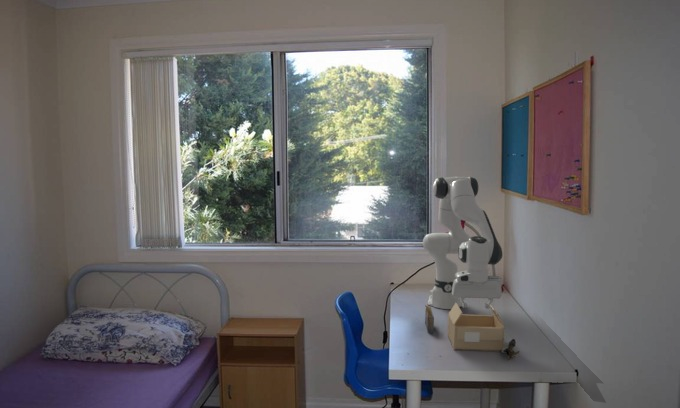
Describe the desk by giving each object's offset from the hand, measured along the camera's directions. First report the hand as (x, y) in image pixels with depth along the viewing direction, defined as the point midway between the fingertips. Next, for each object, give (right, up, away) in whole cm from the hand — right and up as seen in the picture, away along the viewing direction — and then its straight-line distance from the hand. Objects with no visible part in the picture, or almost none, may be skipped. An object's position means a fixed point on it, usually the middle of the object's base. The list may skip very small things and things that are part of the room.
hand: (476, 307), depth 202 cm
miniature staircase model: (-16, -14, +20) cm, 29 cm away
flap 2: (+10, -5, 0) cm, 11 cm away
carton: (0, -16, +2) cm, 16 cm away
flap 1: (-10, -5, +1) cm, 11 cm away
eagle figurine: (+10, -17, -11) cm, 23 cm away
